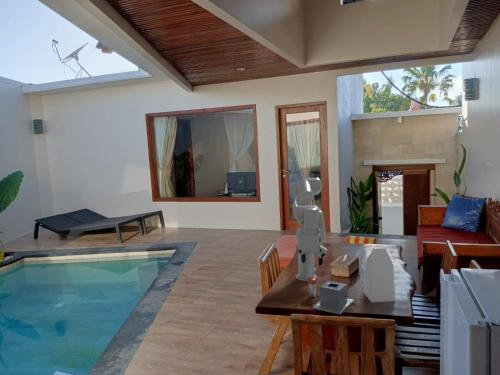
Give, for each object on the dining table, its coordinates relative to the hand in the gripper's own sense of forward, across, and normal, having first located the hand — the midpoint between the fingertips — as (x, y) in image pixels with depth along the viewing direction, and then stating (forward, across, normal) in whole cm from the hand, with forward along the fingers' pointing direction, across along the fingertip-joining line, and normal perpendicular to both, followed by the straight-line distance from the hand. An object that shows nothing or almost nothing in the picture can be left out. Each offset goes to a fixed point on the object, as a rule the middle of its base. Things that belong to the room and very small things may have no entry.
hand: (312, 263), depth 205 cm
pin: (+18, 0, 0) cm, 18 cm away
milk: (+18, -30, -16) cm, 38 cm away
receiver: (+18, -14, +5) cm, 23 cm away
